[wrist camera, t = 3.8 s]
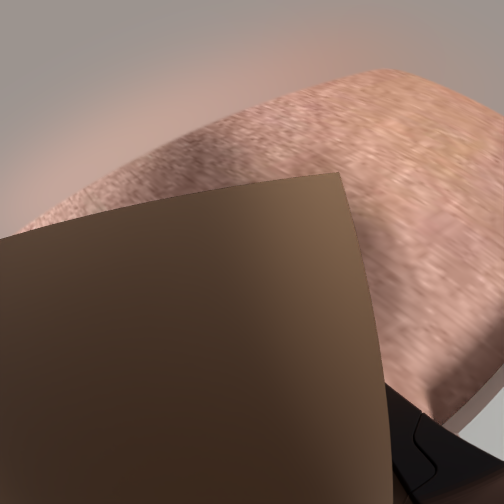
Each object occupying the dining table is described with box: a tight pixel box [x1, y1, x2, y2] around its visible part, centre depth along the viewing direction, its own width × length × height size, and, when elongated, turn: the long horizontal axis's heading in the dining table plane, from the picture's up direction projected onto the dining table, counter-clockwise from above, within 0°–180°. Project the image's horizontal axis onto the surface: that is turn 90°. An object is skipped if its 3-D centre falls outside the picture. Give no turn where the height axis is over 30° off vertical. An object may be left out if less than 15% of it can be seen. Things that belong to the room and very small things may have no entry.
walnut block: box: [0, 172, 393, 504], centre depth 8 cm, size 5×5×13 cm
